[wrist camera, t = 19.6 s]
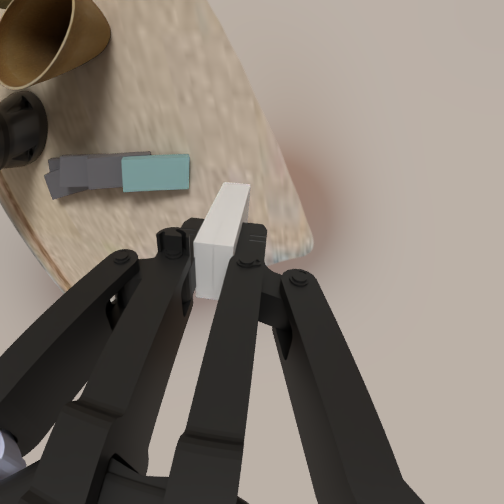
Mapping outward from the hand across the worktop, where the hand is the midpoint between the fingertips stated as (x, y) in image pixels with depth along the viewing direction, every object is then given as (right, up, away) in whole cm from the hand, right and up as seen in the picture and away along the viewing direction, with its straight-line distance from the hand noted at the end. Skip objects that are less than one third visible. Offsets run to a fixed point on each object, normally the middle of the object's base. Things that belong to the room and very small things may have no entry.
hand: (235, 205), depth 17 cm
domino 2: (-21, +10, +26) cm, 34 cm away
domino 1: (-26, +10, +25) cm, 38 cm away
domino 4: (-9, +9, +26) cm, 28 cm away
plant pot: (-24, +31, +14) cm, 42 cm away
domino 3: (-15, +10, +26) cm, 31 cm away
